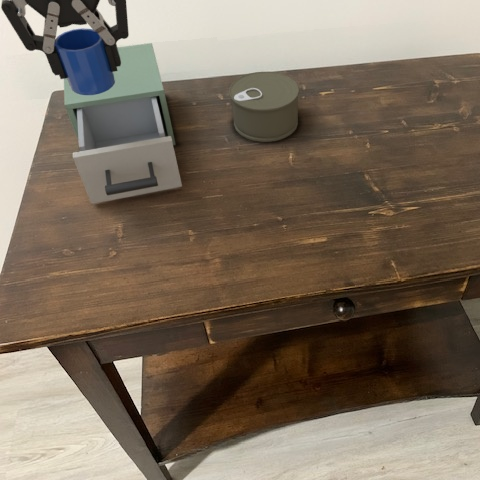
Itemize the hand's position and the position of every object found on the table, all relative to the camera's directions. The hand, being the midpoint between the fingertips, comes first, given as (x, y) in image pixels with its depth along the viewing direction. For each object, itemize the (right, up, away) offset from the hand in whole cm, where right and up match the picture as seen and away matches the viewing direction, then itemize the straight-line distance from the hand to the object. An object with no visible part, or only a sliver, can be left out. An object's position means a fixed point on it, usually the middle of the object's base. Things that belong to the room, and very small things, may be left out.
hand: (89, 71), depth 70 cm
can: (+20, -1, +27) cm, 34 cm away
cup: (0, -1, +1) cm, 2 cm away
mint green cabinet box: (-4, -2, +25) cm, 26 cm away
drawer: (+1, -12, +15) cm, 19 cm away
